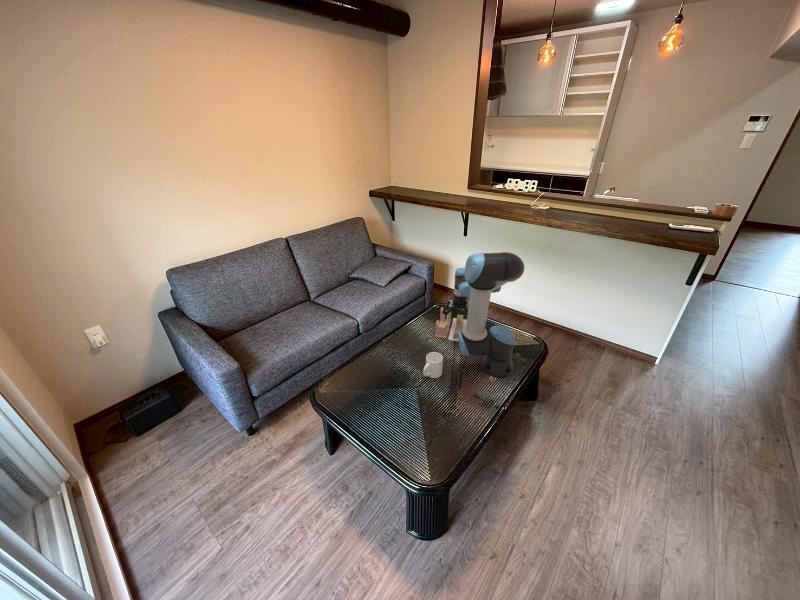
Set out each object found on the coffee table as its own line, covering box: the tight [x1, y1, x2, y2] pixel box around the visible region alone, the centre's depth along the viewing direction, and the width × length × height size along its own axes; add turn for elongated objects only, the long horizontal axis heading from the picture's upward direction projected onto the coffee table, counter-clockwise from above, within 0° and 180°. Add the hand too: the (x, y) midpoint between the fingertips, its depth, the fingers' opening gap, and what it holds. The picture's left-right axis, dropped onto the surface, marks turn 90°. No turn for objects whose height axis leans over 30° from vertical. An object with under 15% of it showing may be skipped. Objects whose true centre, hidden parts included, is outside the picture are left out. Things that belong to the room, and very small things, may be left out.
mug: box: [422, 351, 444, 379], centre depth 151 cm, size 12×8×10 cm
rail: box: [453, 314, 464, 339], centre depth 186 cm, size 4×22×4 cm, turn 164°
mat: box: [447, 317, 467, 342], centre depth 187 cm, size 9×24×1 cm, turn 164°
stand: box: [434, 306, 453, 339], centre depth 188 cm, size 7×21×9 cm, turn 164°
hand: (458, 324), depth 186 cm, fingers open, 13 cm apart
